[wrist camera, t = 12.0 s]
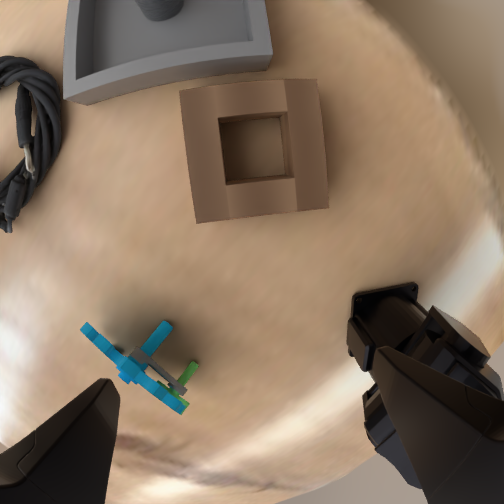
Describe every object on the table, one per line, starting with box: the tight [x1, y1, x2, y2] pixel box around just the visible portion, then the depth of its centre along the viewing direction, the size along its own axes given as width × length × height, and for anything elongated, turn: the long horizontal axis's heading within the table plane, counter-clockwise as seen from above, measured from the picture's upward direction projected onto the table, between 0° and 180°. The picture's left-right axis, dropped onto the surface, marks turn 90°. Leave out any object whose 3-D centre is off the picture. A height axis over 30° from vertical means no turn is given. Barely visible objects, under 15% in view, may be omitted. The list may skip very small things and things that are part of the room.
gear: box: [80, 321, 199, 415], centre depth 21 cm, size 11×6×10 cm
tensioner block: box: [179, 79, 329, 224], centre depth 17 cm, size 8×8×3 cm
